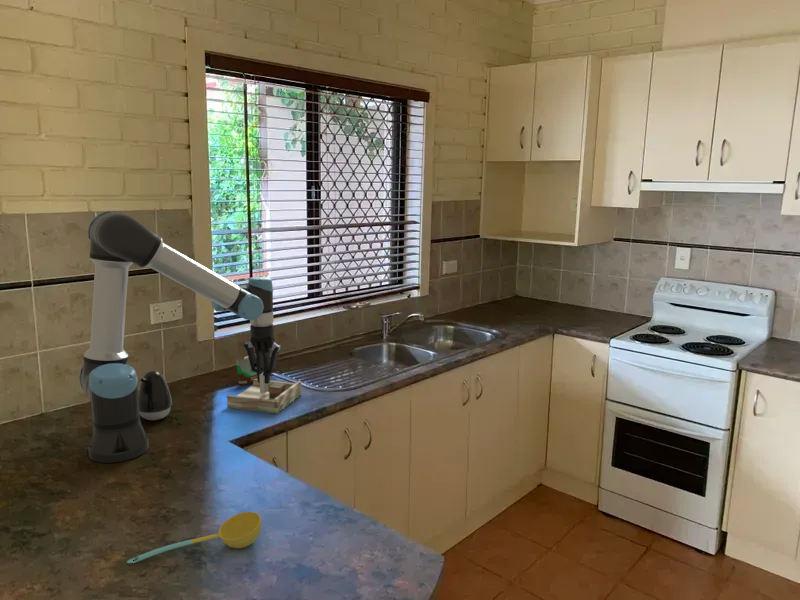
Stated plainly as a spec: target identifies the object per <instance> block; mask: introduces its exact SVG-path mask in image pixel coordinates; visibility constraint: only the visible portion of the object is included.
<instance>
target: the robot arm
mask: <svg viewBox="0 0 800 600" xmlns="http://www.w3.org/2000/svg"><path fill="white" fill-rule="evenodd" d="M87 229H88V230H87V235H88V239H89V244H90V245H89V257H88V258H89V260H90V261H91V262H92V263H93V264H94V277H93V278H94V279H93V295H92V311H91V325H90V341H89V342H90V345H89V348H88V349H87V350H86V351H85V352H84V353H83V359H82V366H81V368H80V371H79V379H78V380H79V385H80V386H81V389H82V390H83V392H84V393H85V394H86V396H87V397H88V399H89V401H90V404H91V405H90V406H91V416H92V424H93V428H92V431H91V432H92V433H91V436H90V441H89V445H88V447H87V448H88V451H87V453H88V457H89V459H90V460H92V461H94V462H97V463H101V464H102V463H103V464H104V463H105V464H109V463H110V464H111V463H122V462H125V461H129V460H132V459H135V458H138V457H139V456H141V455H143V454H144V453H146V452H147V451H148V449H149V447H150V444H149V442H150V441H149V437H148V435H147V434H146V431H145V430H144V429H145V428H144V427H143V425H142V422H141V417H140V416H141V415H140V413H139V400H138V391H139V387H138V384H139V382H138V381H139V380H138V377H137V372H136V369H135V368H134V367H132V366H131V365H129V353H127V352H126V350H125V349H124V341H125V339H124V337H125V324H126V314H127V313H126V311H127V310H126V308H127V299H128V298H127V297H128V295H127V294H128V293H127V292H128V281H129V268H130V266H132V265H133V264H134V265H137V266H138V267H140V268H142V269H144V268H150V269H152V270H153V271H156V272H157V273H159V274H160V275H163V276H165V277H167V278H169V279H171V280H172V281H175V283H177V284H180V285H181V286H184V287H185V288H187V289H189V290H191V291H192V292H194V293H197V294H198V295H200V296H202V297H204V298H205V299H208V300H209V301H210V302H211V306H212V308H213V310H214V311H216V312H227V311H229V312H231V313H233V314H235V315H237V316H239V317H240V318H242V319H244V320H246V321H249V323H250V325H249V327H250V329H249V330H250V331H249V332H250V339H249V341H248V342H247V341H246V342H245V343H244V344H243V348H245V350H246V353H247V355H248V358H249V362H250V365H251V369H252V371H253V372H256V373H257V378H258V383H260V393H262V394H264V393H266V392H267V391H268V383H269V382H270V381H271V378H270V377H271V376H270V375H271V374H272V373H274V372H275V371H276V369H277V368H276V367H277V363H278V358H279V353H280V350H281V349H282V344H277V343H276V340H275V338H274V335H275V330H274V329H275V328H274V324H273V323H274V298H273V297H274V293H273V292H274V287H273V281H272V280H273V279H271V278H270V277H269V276H263V275H262V276H253V277H250V278H248V282H247V284H241V285H237V284H235V283H234V282H232V281H230V280H228V279H227V278H225V277H223V276H221V275H220V274H218V273H216V272H215V271H213V270H211V269H209V268H208V267H206V266H205V265H203V264H201V263H199V262H197V261H195V260H194V259H192V258H191V257H188V256H187V255H186V254H183V253H181V252H179V251H178V250H177V249H175V248H173V247H171V246H169V245H168V244H166V243H164V241H163V237H162V236H160V235H158V234H156V233H155V232H153V231H151V230H150V229H149V228H147V227H146V226H145V225H144V224H142V223H141V222H140V221H139V220H137V219H135V218H134V217H132V216H131V215H129V214H126V213H123V212H119V211H115V210H112V211H111V210H110V211H109V210H108V211H104V212H102V213H99V214H97V215H96V216H94V217H93V219H92V220H91V221H90V222H89V225H88V228H87ZM271 350H272V352H271ZM270 353H271V354H270ZM255 354H256V356H255Z"/></svg>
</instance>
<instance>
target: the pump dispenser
mask: <svg viewBox="0 0 800 600" xmlns="http://www.w3.org/2000/svg"><path fill="white" fill-rule="evenodd" d="M138 400H139V413H140V416H141V417H142V418H143V419H144V420H148V421H158V420H161V419H164V418H165V417H167V416H168V415H169V413H170V411H171V408H172V406H173V399H172V395H171V392H170V388H169V385H168V384H167V382H166V379H165V378H164V376H163V375H162V374H161V373H160V372H159V371H157V370H149V371H147V372H146V373H144V375H142V378H140V384H139V387H138Z"/></svg>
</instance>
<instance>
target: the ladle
mask: <svg viewBox="0 0 800 600" xmlns="http://www.w3.org/2000/svg"><path fill="white" fill-rule="evenodd" d="M261 530H262V517H261V516H260V514H259V513H257V512H254V511H243V512H240V513H237V514H235V515H233V516H231V517H229V518H228V519H226V520H225V521H224V522H223V523H222V524H221V526H220V527H219V529H218V533H215V534H209V535H205V536H202V537H197V538H194V539H187V540H184V541H180V542H179V541H178V542H175V543H172V544H168V545H165V546H161V547H159V548H155V549H152V550H150V551H147V552H144V553H143V554H139V555H137V556H135V557H133V558H129V559H128V560H127V561H126V564H127V563H133V564H135V563H138V562H141V561H143V560H146V559H148V558H150V557H153V556H156V555H159V554H161V553H165V552H167V551H171V550H175V549H177V548H181V547H182V548H183V547H185V546H190V545H193V544H197V543H201V542H205V541H209V540H212V539H218V538H220V539H221V541H222V543H224V544H225V545H226V546H228V547H229V548H234V549H244V548H246V547H249V546H250V545H252V544H253V543H254V542H255V541H256V540H257V538H258V537H259V535H260V532H261ZM133 560H134V561H133Z"/></svg>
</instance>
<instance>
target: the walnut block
mask: <svg viewBox="0 0 800 600" xmlns="http://www.w3.org/2000/svg"><path fill="white" fill-rule="evenodd" d="M284 391H286V386H285V384H280V383H274V384H272V385H271V386H269V398H272V399H275V398H276V397H277V396H279V395H280V394H282V393H283V392H284Z"/></svg>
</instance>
